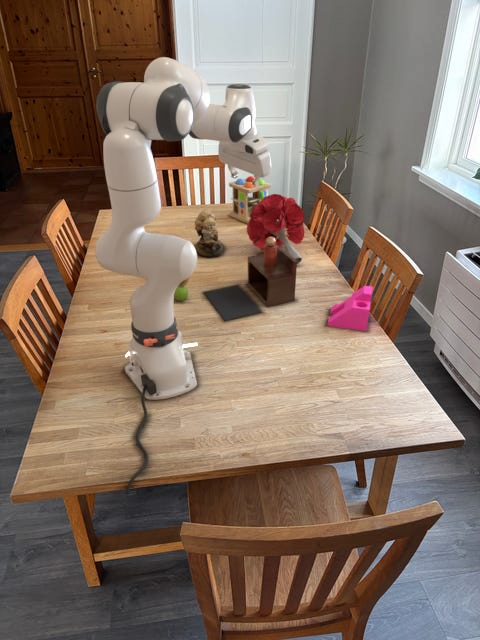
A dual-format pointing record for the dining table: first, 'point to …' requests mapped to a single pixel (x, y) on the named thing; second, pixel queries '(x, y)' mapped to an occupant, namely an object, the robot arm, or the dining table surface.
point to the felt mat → (232, 302)
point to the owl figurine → (207, 235)
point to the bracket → (352, 311)
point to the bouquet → (277, 223)
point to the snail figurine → (181, 291)
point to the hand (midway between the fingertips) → (245, 181)
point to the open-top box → (273, 278)
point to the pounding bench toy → (242, 201)
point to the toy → (270, 252)
